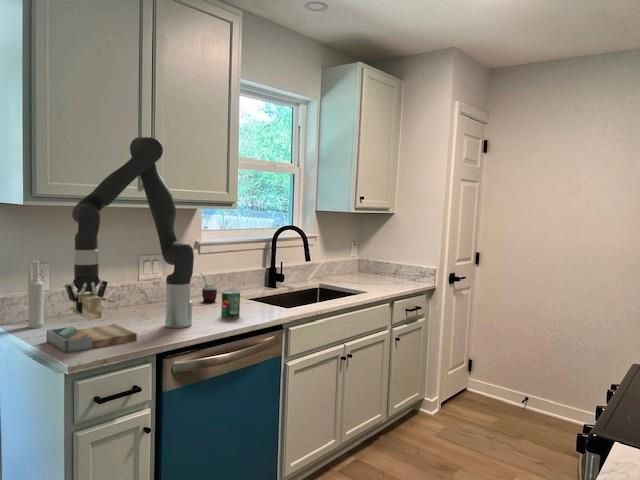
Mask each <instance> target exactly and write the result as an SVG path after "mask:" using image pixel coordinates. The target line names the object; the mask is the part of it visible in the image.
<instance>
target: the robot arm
mask: <svg viewBox="0 0 640 480" xmlns="http://www.w3.org/2000/svg"><path fill="white" fill-rule="evenodd" d="M129 153H130V155H131V156H130V159H129V160H128V161H126V163H124V164H123V165H122V166H120V167H119V168H117V169H116V170H114V171H113V172H111V173H110V174H109V175H107V176H106V177H105V178H104V179H103V180H102V181H101V182H100V183H98V185H97V186H96V187H95V188H94V190H93V191H92V192H90V193H89V194H87V195H86V196H85V197H84V198H83V199H81V200H80V201H79V202H78V203H76V205H75V206H74V208H73V210H72V212H71V213H72V218H73V221H75V222H76V223H77V233H75V236H74V254H73V270H74V271H73V272H74V273H73V277H74V278H73V279H74V280H73V281H72V282H71V283H69V284H67V283H66V284H65V285H64V288H65V291H66V293H67V296H68V299H69V300H70V301H72V302H73V301H74V302H76V311H77V312H78V313H82V302H81V301H82V296H84V293H85V292H88V293H90V294H93V295H96V296H99V297H101V299H103V298H104V296H105V293H106V290H107V289H106V288H107V285H108V281H106V280H101V279H100V278H99V271H100V270H99V265H100V264H99V261H100V259H99V251H98V242H99V241H98V234H99V230H100V224H101V214H100V212H101V211H102V209H103V208H105V207H108V206H110V205H111V204H112V203H113V202H114V201H115V200H116V199H117V198H118V197H119V196H120V195H121V193H122V192H124V190H126V188H127V187H128V186H129V185H130V184H131V183H132V182H134V180H135V179H137V178H138V177H140V181H141V183H142V188H143V190H144V194H145V196H146V200H147V204H148V207H149V209H150V213H151V215H152V219H153V222H154V225H155V229H156V231H157V236H158V240H159V244H160V245H159V246H160V250H161V255H162V258H163V260H164V261H165V263H166V264H168V265H171V266H173V272H172V273H170V274H168V275H167V276H166V279H165V280H166V282H165V283H166V284H165V319H164V320H165V327H166V328H170V329H182V328H187V327H189V326H192V324H193V323H192V318H193V317H192V316H193V314H192V313H193V301H191V280H192V276H193V274H194V262H195V261H194V259H195V254H194V249H193V246H192V245H190V244H188V243H185V242H179V241H178V240H177V236H176V234H175V227H174V225H175V222H176V221H175V220H176V216H177V208H176V203H175V200H174V196H173V194H172V192H171V190H170V188H169V187H168V185H167V184H166V182H165V180H164V179H163V177H162V176H161V175H160V172H159V169H158V168H157V167H158V166H157V164H156V163H157V162H159V160H160V159H161V157H162V156H163V153H164V147H163V144H162V142H161V141H160V140H159V139H157V138H154V137H150V136H139V137H138V136H137V137H135V138H133V140H132V141H131V142H130V145H129ZM97 286H99V287H98V290H97V289H96V288H97ZM74 287H75V288H76V289H77V290H76V291H75V292H76V298H75V295H74V289H75V288H74Z"/></svg>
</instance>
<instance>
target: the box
mask: <svg viewBox="0 0 640 480" xmlns="http://www.w3.org/2000/svg"><path fill="white" fill-rule="evenodd" d="M68 327H69V326H67V327H59V328H53V329H46V342H47V343H48V344H50V345H52V346H53V347H55V348H57V349H58V350H60V351H61V352H63V353H65V354H70V353H75V352H79V351H80V352H81V351H86V350H91V349H93V348H92V336H89V337H83V338H77V339H71V340H67V339H65V338H63V337H61V336H60V335H59V333H60V332H61V331H63V330H65V329H66V328H68Z"/></svg>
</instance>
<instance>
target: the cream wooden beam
mask: <svg viewBox="0 0 640 480" xmlns="http://www.w3.org/2000/svg"><path fill="white" fill-rule="evenodd" d="M73 292H74V291H73ZM76 292H77V291H75V292H74V295H75V298H76ZM81 302H82V313H78V312H77V311H76V302H74V301H72V313H73V314H76V315H79V316H81V317H82V318H85V319H87V320H98V319H102V317H103V316H102V314H103V313H102V309H103V308H102V298H101V297H99V296H96V295H93V294H90V292H85V293H84V296H82V301H81Z"/></svg>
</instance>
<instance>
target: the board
mask: <svg viewBox="0 0 640 480" xmlns="http://www.w3.org/2000/svg"><path fill="white" fill-rule="evenodd" d="M77 331H78V333H79V332H80V331H82V332H84V333H86V334H87V335H88V337H89V336H92V349H97V348H102V347H107V346H113V345H119V344H124V343H129V342H136V341H137V339H138V337H137V335H138V333H137V332H134V331H132V330H130V329H127V328H126V327H122V326H120V325H118V324H116V323H112V324H107V325H100V326H93V327H87V328H81V329H80V328H79V329H77Z"/></svg>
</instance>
